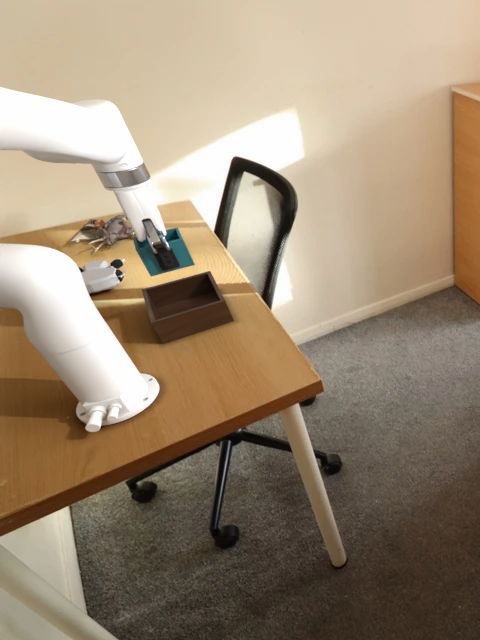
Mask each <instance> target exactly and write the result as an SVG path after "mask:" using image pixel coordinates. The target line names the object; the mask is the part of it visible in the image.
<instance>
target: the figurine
mask: <svg viewBox="0 0 480 640" xmlns="http://www.w3.org/2000/svg"><path fill="white" fill-rule="evenodd" d="M127 222H129V221H128V219H127V217H126V216H125V214H118V215H116V216H114V217H111V218H110V219H109V220H106V222H105V220H104V219H103V218H101V219H94V218H90V219H89V220H88V221H87V223H85V224H84V225H83V226H82V227H81V228H80V229H79V230H78V231H76V233H75V234H74V235H73V236H72V237H71V238H70V239H69V240H67V244H70V243H72V242H76V243H79V242H82V241H90V242H89V243H88V244H87V245H88V246H91V247H93V248H94V251H93V254H95V253H98V250H99V249H100V248H102V247H103V246H104V245H107V246H114V245H115V244H116V241H118V240H122V239H127V238H133V237H136V235H135V233H134V231H133V229H132V227H131V226H130V227H129V225H128V224H127ZM98 242H100V244H98V246H97V247H95V246H93V245H92V244H94V243H98Z"/></svg>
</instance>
